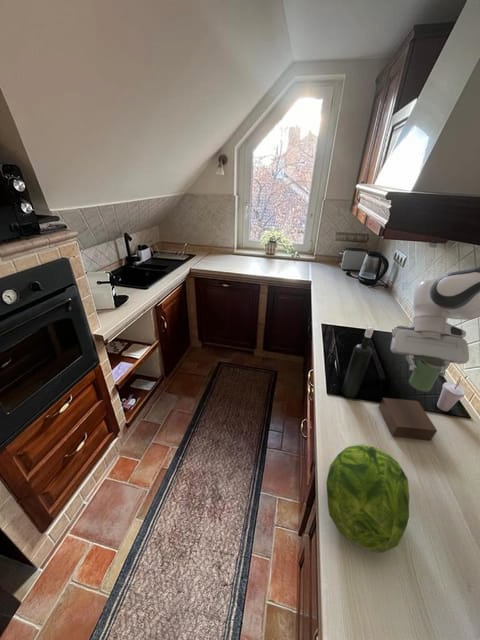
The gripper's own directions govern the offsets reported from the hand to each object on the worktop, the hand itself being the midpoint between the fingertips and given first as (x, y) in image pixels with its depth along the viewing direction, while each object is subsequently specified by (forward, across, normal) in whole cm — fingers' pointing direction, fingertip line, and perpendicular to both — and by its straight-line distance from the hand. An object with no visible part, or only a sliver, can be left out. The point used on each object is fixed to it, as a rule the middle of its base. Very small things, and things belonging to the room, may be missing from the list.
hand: (427, 373), depth 77 cm
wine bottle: (+10, -17, +22) cm, 29 cm away
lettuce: (+38, -18, -6) cm, 42 cm away
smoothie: (+8, +16, +24) cm, 30 cm away
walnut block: (+16, 0, +15) cm, 22 cm away
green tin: (+3, 0, +4) cm, 5 cm away
